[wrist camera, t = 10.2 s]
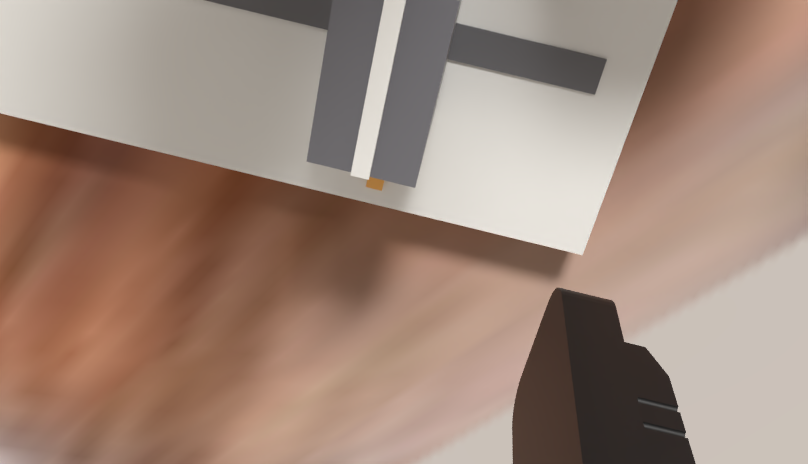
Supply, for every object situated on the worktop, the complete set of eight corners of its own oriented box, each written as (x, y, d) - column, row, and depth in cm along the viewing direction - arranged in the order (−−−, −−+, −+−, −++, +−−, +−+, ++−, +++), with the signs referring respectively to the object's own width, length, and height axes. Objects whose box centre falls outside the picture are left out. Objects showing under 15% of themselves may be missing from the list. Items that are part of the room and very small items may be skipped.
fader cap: (375, -59, 23) (335, -28, 18) (470, -36, 23) (459, 2, 18) (347, 95, 26) (304, 164, 20) (433, 116, 26) (414, 190, 20)
